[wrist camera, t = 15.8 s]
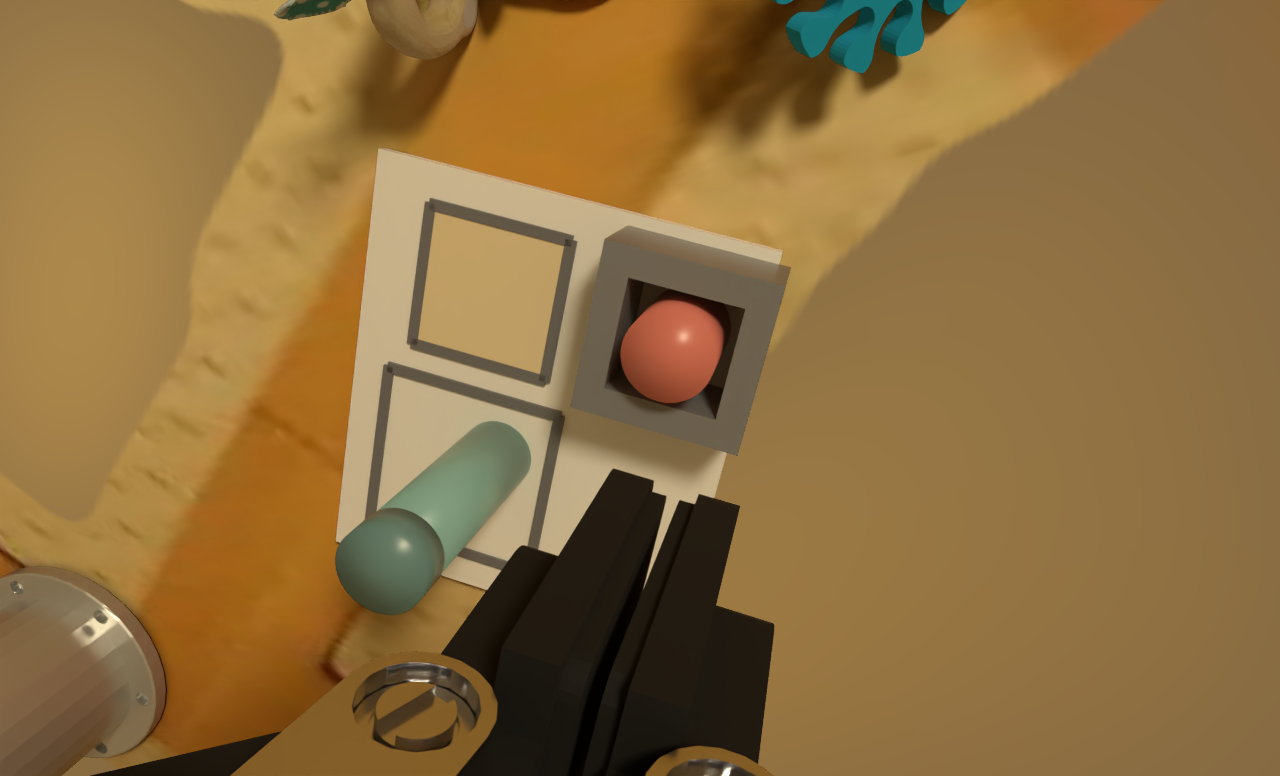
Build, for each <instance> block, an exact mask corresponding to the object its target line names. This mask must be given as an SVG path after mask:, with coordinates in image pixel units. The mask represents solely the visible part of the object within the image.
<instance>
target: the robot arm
mask: <svg viewBox="0 0 1280 776" xmlns="http://www.w3.org/2000/svg"><path fill="white" fill-rule="evenodd" d="M653 485H654V480H651V479H648V478H644V477H641V476H638V475H634V474H631V473H627V472H624V471H621V470H617V469H614V468H613V469H612V470H611V471H610V473H609V475H608V476H607V478H606V480H605V481H604V483H603V484H602V486H601V488H600V489H599V491H598V492H597V494H596V496H595V497H594V499H593V501H592V502H591V504H590V505H589V507H588V509H587V510H586V512H585V514H584V515H583V517H582V518H581V520H580V522H579V523H578V525H577V526H576V528H575V530H574V531H573V533H572V535H571V536H570V538H569V539H568V541H567V543H566V544H565V546H564V547H563V549H562V551H561V552H560V554H559V556H557V555H554V554H551V553H547V552H544V551H541V550H538V549H535V548H532V547H528V546H525V545H521V546H520V547H519V548H518V549H517V550H516V551H515V552H514V554H513V555H512V556H511V558H510V559H509V560H508V562H507V563H506V565H505V566H504V567H503V569H502V570H501V572H500V573H499V574H498V576H497V577H496V578H495V580H494V581H493V583H492V584H491V585H490V587H489V588H488V590H487V591H486V592H485V594H484V595H483V596H482V598H481V599H480V601H479V602H478V603H477V605H476V606H475V608H474V609H473V610H472V612H471V613H470V615H469V616H468V617H467V619H466V620H465V621H464V623H463V624H462V626H461V627H460V628H459V630H458V631H457V633H456V634H455V635H454V637H453V638H452V639H451V641H450V642H449V644H448V645H447V646H446V648H445V649H444V651H443V652H442V653H441V654H437V653H428V652H418V651H413V652H402V653H392V654H389V655H386V656H383V657H380V658H377V659H373V660H370V661H369V662H367V663H365V664H364V665H362V666H361V667H359V668H358V669H356V670H354V671H353V672H351V673H350V674H349V675H348V676H347V677H345V678H344V679H343V680H342V681H341V682H340V683H338V684H337V685H336V686H335V687H334V688H333V689H331V690H330V691H329V692H328V693H327V694H325V695H324V696H323V697H322V698H321V699H320V700H318V701H317V702H316V703H315V704H314V705H313V706H311V707H310V708H309V709H308V710H307V711H306V712H304V713H303V714H302V715H301V716H300V717H299V718H297V719H296V720H295V721H294V722H293V723H291V724H290V725H289V726H288V727H287V728H286V729H284V730H283V731H281V732H277V733H273V734H268V735H264V736H260V737H255V738H251V739H247V740H243V741H238V742H234V743H230V744H225V745H221V746H217V747H212V748H208V749H204V750H199V751H195V752H191V753H186V754H182V755H178V756H174V757H169V758H165V759H161V760H156V761H152V762H148V763H143V764H139V765H135V766H130V767H126V768H122V769H117V770H114V771H109V772H104V773H100V774H96V775H92V776H773V775H772V774H771V773H770V772H769V771H768V770H767V769H765V768H764V767H762V766H760V765H758V759H759V751H760V743H761V734H762V726H763V718H764V710H765V702H766V693H767V685H768V677H769V669H770V661H771V652H772V644H773V636H774V624H773V623H770V622H767V621H764V620H761V619H758V618H754V617H751V616H748V615H745V614H741V613H739V612H735V611H732V610H729V609H726V608H723V607H719V606H716V603H717V599H718V594H719V590H720V586H721V582H722V578H723V574H724V570H725V566H726V561H727V557H728V553H729V549H730V545H731V541H732V537H733V533H734V529H735V525H736V521H737V516H738V512H739V508H740V506H738V505H735V504H732V503H728V502H725V501H721V500H718V499H715V498H711V497H708V496H705V495H701V494H699V495H698V497H697V500H696V503H695V504H692V503H689V502H685V501H682V500H679V502H678V504H677V507H676V509H675V512H674V514H673V517H672V519H671V522H670V524H669V527H668V529H667V532H666V534H665V537H664V539H663V542H662V544H661V547H660V549H659V552H658V554H657V557H656V559H655V562H654V564H653V567H652V569H651V572H650V574H649V577H648V579H647V582H646V584H645V581H646V577H647V573H648V569H649V565H650V562H651V558H652V554H653V550H654V546H655V542H656V538H657V534H658V530H659V527H660V523H661V519H662V515H663V511H664V507H665V503H666V497H667V496H665V495H662V494H659V493H655V492H652V491H653ZM644 585H645V587H644ZM165 694H166V687H165V678H164V671H163V668H162V665H161V662H160V658H159V655H158V653H157V651H156V649H155V647H154V645H153V643H152V641H151V639H150V636H149V635H148V634H147V632H146V631H145V629H144V628H143V626H142V625H141V623H140V622H139V621H138V619H137V618H136V617H135V616H134V615H133V614H132V613H131V612H130V610H129V609H128V608H127V607H126V606H125V605H124V604H123V603H122V602H121V601H119V600H118V599H117V598H116V597H115V596H113V595H112V594H111V593H110V592H109V591H107V590H106V589H104V588H102V587H101V586H99V585H98V584H96V583H94V582H93V581H91V580H89V579H87V578H85V577H82V576H80V575H78V574H76V573H73V572H71V571H67V570H63V569H59V568H55V567H43V566H33V567H27V568H21V569H18V570H16V571H13V572H11V573H9V574H7V575H5V576H3V577H2V578H0V776H62V775H63V774H64V773H65V772H66V771H68V770H69V769H70V768H71V767H72V766H73V765H75V764H76V763H77V762H78V761H79V760H80V759H81V758H83V757H91V758H103V757H113V756H116V755H119V754H122V753H125V752H127V751H129V750H130V749H132V748H133V747H135V746H136V745H138V744H139V743H140V742H141V741H142V740H143V739H144V738H145V737H146V736H147V735H149V734H150V733H151V732H152V731H153V729H154V728H155V726H156V725H157V723H158V722H159V720H160V718H161V715H162V712H163V709H164V706H165Z"/></svg>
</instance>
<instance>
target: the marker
mask: <svg viewBox="0 0 1280 776" xmlns="http://www.w3.org/2000/svg"><path fill="white" fill-rule="evenodd" d="M530 466H531V453H530V449H529V446H528V444H527V442H526V440H525V439H524V437H523V436H522V435H521V434H520V433H519V432H518V431H517V430H516V429H515V428H513V427H511V426H510V425H508V424H505V423H502V422H498V421H487V422H483V423H480V424H478V425H476V426H475V427H473V428H472V429H471V430H470V431H469V432H468V433H467V434H465V435H464V436H463V437H462V438H461V439H460V440H458V441H457V442H456V443H455V444H454V445H453V446H451V447H450V448H449V449H448V450H447V451H446V452H445V453H443V454H442V455H441V456H440V457H439V458H438V459H436V460H435V461H434V462H433V463H432V464H431V465H429V466H428V467H427V468H426V469H425V470H424V471H423V472H421V473H420V474H419V475H418V476H417V477H416V478H414V479H413V480H412V481H411V482H410V483H409V484H408V485H406V486H405V487H404V488H403V489H402V490H401V491H399V492H398V493H397V494H396V495H395V496H394V497H392V498H391V499H390V500H389V501H388V502H387V503H386V504H384V505H383V506H382V507H381V508H380V509H379V510H377V511H376V512H374V513H372V514H371V515H370V516H368V517H367V518H366V519H365V520H364V521H363V522H361V523H360V524H359V525H358V526H357V527H356V528H354V529H353V530H352V531H351V532H350V533H349V534H348V535H346V536H345V537H344V538H343V540H342V541H341V542H340V544H339V546H338V548H337V552H336V557H335V565H336V571H337V575H338V577H339V580H340V582H341V584H342V586H343V587H344V589H345V590H346V592H347V593H348V594H349V595H350V596H351V597H352V598H353V599H354V600H355V601H356V602H357V603H359V604H360V605H362V606H363V607H365V608H367V609H369V610H371V611H373V612H376V613H380V614H385V615H396V614H401V613H404V612H406V611H409V610H410V609H412V608H413V607H414V606H415V605H416V604H417V603H418V602H419V601H420V600H421V599H422V597H423V596H424V595H425V594H426V593H427V592H428V591H429V589H430V588H431V587H432V586H433V585H434V584H435V582H436V581H437V580H438V579H439V577H440V576H441V574H442V572H443V571H444V570H445V569H446V568H447V567H448V565H449V564H450V563H451V562H452V561H453V560H454V559H455V557H456V556H457V555H458V554H459V553H460V552H461V551H462V549H463V548H464V547H465V546H466V545H467V544H468V543H469V541H470V540H471V539H472V538H473V537H474V536H475V534H476V533H477V532H478V531H479V530H480V529H481V528H482V526H483V525H484V524H485V523H486V522H487V521H488V520H489V518H490V517H491V516H492V515H493V514H494V513H495V511H496V510H497V509H498V508H499V507H500V506H501V505H502V503H503V502H504V501H505V500H506V499H507V498H508V497H509V495H510V494H511V493H512V492H513V491H514V490H515V488H516V487H517V486H518V485H519V484H520V483H521V482H522V480H523V479H524V478H525V477H526V475H527V474H528V472H529V469H530Z"/></svg>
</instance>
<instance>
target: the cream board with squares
mask: <svg viewBox="0 0 1280 776" xmlns="http://www.w3.org/2000/svg"><path fill="white" fill-rule="evenodd" d="M628 225H629V226H633V227H637V228H641V229H645V230H648V231H652V232H656V233H660V234H664V235H668V236H672V237H675V238H679V239H683V240H687V241H691V242H695V243H698V244H702V245H706V246H710V247H714V248H718V249H722V250H725V251H729V252H733V253H737V254H741V255H745V256H749V257H752V258H756V259H760V260H764V261H768V262H772V263H775V264H780V260H781V257H782V253H783V250H780V249H776V248H772V247H768V246H764V245H761V244H757V243H753V242H749V241H745V240H741V239H737V238H733V237H729V236H726V235H722V234H718V233H714V232H710V231H706V230H702V229H698V228H695V227H691V226H687V225H683V224H679V223H675V222H671V221H667V220H663V219H660V218H656V217H652V216H648V215H644V214H640V213H636V212H632V211H628V210H625V209H621V208H617V207H613V206H609V205H605V204H601V203H597V202H594V201H590V200H586V199H582V198H578V197H574V196H570V195H566V194H562V193H559V192H555V191H551V190H547V189H543V188H539V187H535V186H531V185H527V184H524V183H520V182H516V181H512V180H508V179H504V178H500V177H496V176H493V175H489V174H485V173H481V172H477V171H473V170H469V169H465V168H461V167H458V166H454V165H450V164H446V163H442V162H438V161H434V160H430V159H426V158H423V157H419V156H415V155H411V154H407V153H403V152H399V151H395V150H392V149H388V148H378V157H377V166H376V176H375V185H374V194H373V203H372V212H371V222H370V231H369V240H368V249H367V258H366V268H365V277H364V286H363V295H362V304H361V313H360V323H359V332H358V341H357V350H356V359H355V369H354V378H353V387H352V396H351V405H350V415H349V424H348V433H347V442H346V451H345V461H344V470H343V479H342V488H341V497H340V506H339V516H338V525H337V534H336V542H339V543H340V542H341V541H342V540H343V538H344V537H345V536H346V535H348V534H349V533H350V532H351V531H352V530H353V529H354V528H356V527H357V526H358V525H359V524H360V523H361V522H363V521H364V520H365V519H366V518H367V517H368V516H370V515H371V514H372V513H374V512H376V511H377V510H379V509H380V508H381V507H382V506H383V505H384V504H386V503H387V502H388V501H389V500H390V499H391V498H392V497H394V496H395V495H396V494H397V493H398V492H399V491H401V490H402V489H403V488H404V487H405V486H406V485H408V484H409V483H410V482H411V481H412V480H413V479H414V478H416V477H417V476H418V475H419V474H420V473H421V472H423V471H424V470H425V469H426V468H427V467H428V466H429V465H431V464H432V463H433V462H434V461H435V460H436V459H438V458H439V457H440V456H441V455H442V454H443V453H445V452H446V451H447V450H448V449H449V448H450V447H451V446H453V445H454V444H455V443H456V442H457V441H458V440H460V439H461V438H462V437H463V436H464V435H465V434H467V433H468V432H469V431H470V430H471V429H472V428H473V427H475V426H476V425H478V424H480V423H483V422H487V421H498V422H502V423H505V424H508V425H510V426H511V427H513V428H515V429H516V430H517V431H518V432H519V433H520V434H521V435H522V436H523V437H524V439H525V440H526V442H527V444H528V446H529V449H530V453H531V466H530V469H529V472H528V474H527V475H526V477H525V478H524V479H523V480H522V482H521V483H520V484H519V485H518V486H517V487H516V488H515V490H514V491H513V492H512V493H511V494H510V495H509V497H508V498H507V499H506V500H505V501H504V502H503V503H502V505H501V506H500V507H499V508H498V509H497V510H496V511H495V513H494V514H493V515H492V516H491V517H490V518H489V520H488V521H487V522H486V523H485V524H484V525H483V526H482V528H481V529H480V530H479V531H478V532H477V533H476V534H475V536H474V537H473V538H472V539H471V540H470V541H469V543H468V544H467V545H466V546H465V547H464V548H463V549H462V551H461V552H460V553H459V554H458V555H457V556H456V557H455V559H454V560H453V561H452V562H451V563H450V564H449V565H448V567H447V568H446V569H445V570H444V571H443V572H442V574H441V575H442V576H445V577H448V578H451V579H454V580H457V581H460V582H463V583H466V584H469V585H473V586H476V587H479V588H482V589H485V590H488V588H489V587H490V585H491V584H492V583H493V581H494V580H495V578H496V577H497V576H498V574H499V573H500V572H501V570H502V569H503V567H504V566H505V565H506V563H507V562H508V560H509V559H510V558H511V556H512V555H513V554H514V552H515V551H516V550H517V549H518V548H519V547H520V546H521V545H525V546H528V547H532V548H535V549H538V550H541V551H544V552H547V553H551V554H554V555H557V556H559V554H560V552H561V551H562V549H563V547H564V546H565V544H566V543H567V541H568V539H569V538H570V536H571V535H572V533H573V531H574V530H575V528H576V526H577V525H578V523H579V522H580V520H581V518H582V517H583V515H584V514H585V512H586V510H587V509H588V507H589V505H590V504H591V502H592V501H593V499H594V497H595V496H596V494H597V492H598V491H599V489H600V488H601V486H602V484H603V483H604V481H605V480H606V478H607V476H608V475H609V473H610V471H611V470H612V469H613V468H614V469H617V470H621V471H624V472H627V473H631V474H634V475H638V476H641V477H644V478H648V479H651V480H654V485H653V491H652V492H655V493H659V494H662V495H665V496H667V497H666V503H665V507H664V511H663V515H662V519H661V523H660V527H659V530H658V534H657V538H656V542H655V546H654V550H653V554H652V558H651V562H650V565H649V569H648V573H647V577H646V581H645V584H646V582H647V579H648V577H649V574H650V572H651V569H652V567H653V564H654V562H655V559H656V557H657V554H658V552H659V549H660V547H661V544H662V542H663V539H664V537H665V534H666V532H667V529H668V527H669V524H670V522H671V519H672V517H673V514H674V512H675V509H676V507H677V504H678V502H679V500H682V501H685V502H689V503H692V504H695V503H696V500H697V497H698V495H699V494H701V495H705V496H708V497H711V498H714V497H715V493H716V490H717V486H718V483H719V479H720V476H721V472H722V468H723V465H724V461H725V457H726V454H727V453H726V452H722V451H719V450H715V449H712V448H709V447H705V446H702V445H698V444H695V443H691V442H688V441H684V440H681V439H678V438H674V437H671V436H667V435H664V434H660V433H657V432H653V431H650V430H647V429H643V428H640V427H636V426H633V425H629V424H626V423H622V422H619V421H616V420H612V419H609V418H605V417H602V416H598V415H595V414H591V413H588V412H585V411H581V410H578V409H574V408H571V407H570V405H571V400H572V395H573V390H574V385H575V380H576V375H577V370H578V366H579V361H580V356H581V351H582V346H583V341H584V336H585V331H586V326H587V322H588V317H589V312H590V307H591V302H592V297H593V292H594V287H595V283H596V278H597V273H598V268H599V263H600V258H601V253H602V248H603V243H604V239H605V238H607V237H609V236H610V235H612V234H614V233H616V232H617V231H619V230H621V229H623V228H624V227H626V226H628ZM667 289H669V288H665V287H661V286H658V285H654V284H650V283H646V282H644V286H643V290H642V295H641V299H640V304H639V308H638V312H637V317H636V320H637V319H638V318H639V317H640V316H641V315H642V313H643V312H644V311H645V310H646V309H647V308H648V307H649V306H650V305H651V304H652V303H653V302H654V301H655V300H656V298H657V297H658V296H659V295H661V294H662V293H663V292H664V291H666V290H667ZM724 305H725V307H726V309H727V311H728V314H729V317H730V323H731V330H730V336H729V340H728V342H727V345H726V347H725V349H724V351H723V353H722V355H721V357H720V360H719V362H718V364H717V366H716V368H715V370H714V372H713V375H712V377H711V379H710V381H709V382H708V384H711V385H715V386H718V387H722V388H724V387H725V383H726V379H727V376H728V372H729V368H730V365H731V361H732V357H733V353H734V350H735V346H736V342H737V339H738V335H739V331H740V327H741V324H742V320H743V316H744V313H745V309H744V308H740V307H736V306H732V305H729V304H725V303H724ZM644 587H645V585H644Z"/></svg>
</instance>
